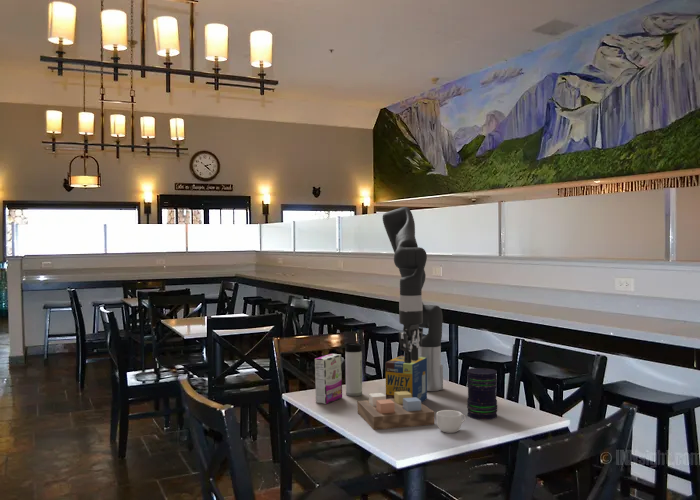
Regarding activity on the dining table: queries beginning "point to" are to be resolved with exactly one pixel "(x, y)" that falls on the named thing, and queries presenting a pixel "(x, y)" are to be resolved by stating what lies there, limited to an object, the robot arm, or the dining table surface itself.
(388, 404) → the terracotta key
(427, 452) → the dining table surface
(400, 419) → the brown flat wooden block
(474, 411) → the storage jar
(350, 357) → the travel mug
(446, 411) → the teacup
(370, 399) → the white block
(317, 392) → the candy bar box
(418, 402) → the light blue block
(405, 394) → the ochre key
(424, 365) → the protein box
